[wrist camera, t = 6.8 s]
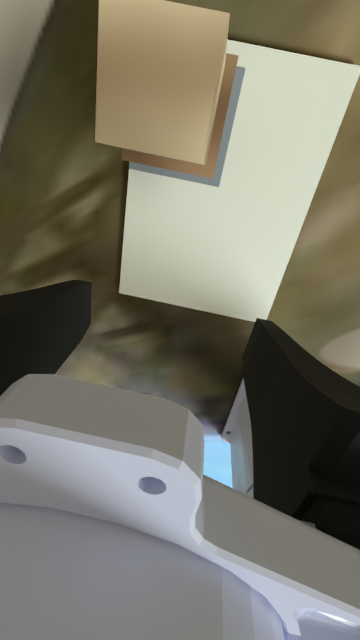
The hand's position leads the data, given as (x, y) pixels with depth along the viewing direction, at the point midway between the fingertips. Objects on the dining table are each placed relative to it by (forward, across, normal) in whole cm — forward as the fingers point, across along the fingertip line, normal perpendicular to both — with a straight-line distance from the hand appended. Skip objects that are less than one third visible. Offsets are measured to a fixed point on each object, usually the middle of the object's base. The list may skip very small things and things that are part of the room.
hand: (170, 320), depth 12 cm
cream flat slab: (+10, -1, -4) cm, 11 cm away
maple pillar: (+6, +2, -8) cm, 10 cm away
